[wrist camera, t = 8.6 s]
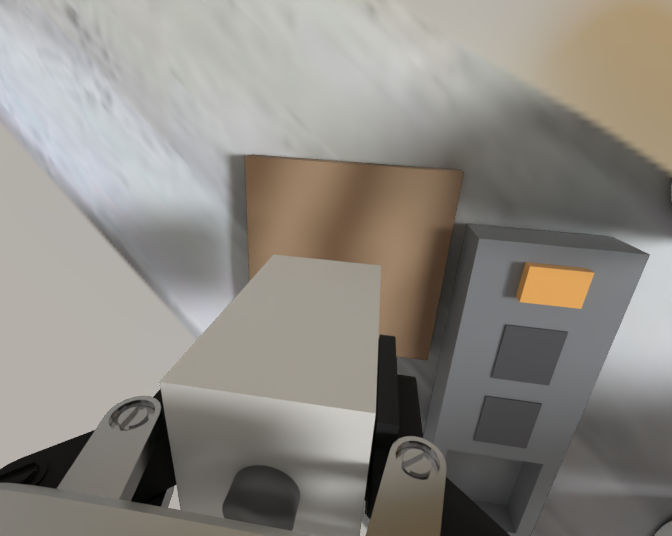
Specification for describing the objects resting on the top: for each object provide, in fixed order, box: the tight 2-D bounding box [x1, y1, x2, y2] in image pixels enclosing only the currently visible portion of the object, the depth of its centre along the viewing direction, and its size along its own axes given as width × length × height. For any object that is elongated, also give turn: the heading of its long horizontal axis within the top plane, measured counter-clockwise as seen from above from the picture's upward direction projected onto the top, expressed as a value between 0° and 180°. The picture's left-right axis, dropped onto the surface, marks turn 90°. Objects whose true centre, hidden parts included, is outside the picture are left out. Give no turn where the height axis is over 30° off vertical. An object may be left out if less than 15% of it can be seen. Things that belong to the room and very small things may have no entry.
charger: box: [160, 255, 381, 536], centre depth 11 cm, size 4×6×9 cm
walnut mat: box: [245, 155, 464, 360], centre depth 22 cm, size 12×12×1 cm
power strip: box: [423, 224, 650, 536], centre depth 23 cm, size 8×24×4 cm, turn 177°
